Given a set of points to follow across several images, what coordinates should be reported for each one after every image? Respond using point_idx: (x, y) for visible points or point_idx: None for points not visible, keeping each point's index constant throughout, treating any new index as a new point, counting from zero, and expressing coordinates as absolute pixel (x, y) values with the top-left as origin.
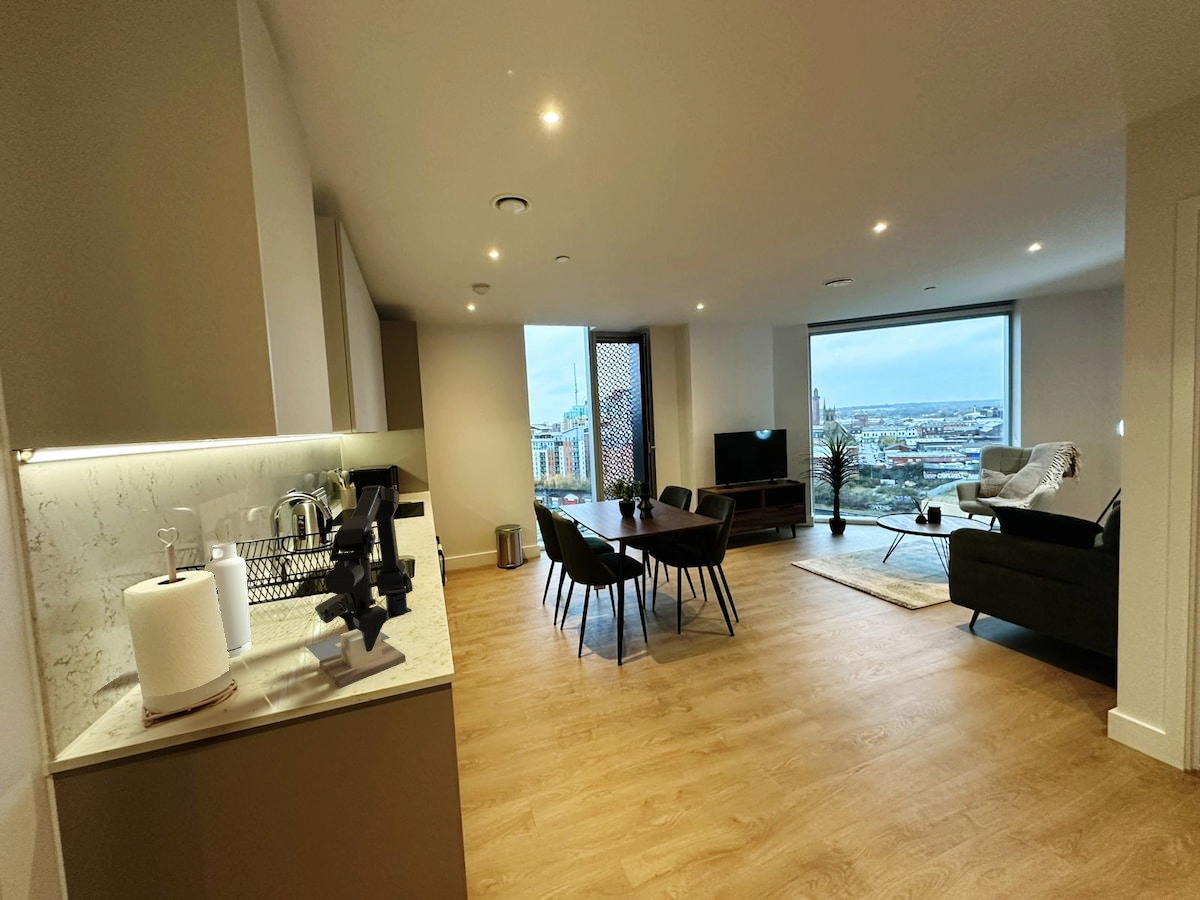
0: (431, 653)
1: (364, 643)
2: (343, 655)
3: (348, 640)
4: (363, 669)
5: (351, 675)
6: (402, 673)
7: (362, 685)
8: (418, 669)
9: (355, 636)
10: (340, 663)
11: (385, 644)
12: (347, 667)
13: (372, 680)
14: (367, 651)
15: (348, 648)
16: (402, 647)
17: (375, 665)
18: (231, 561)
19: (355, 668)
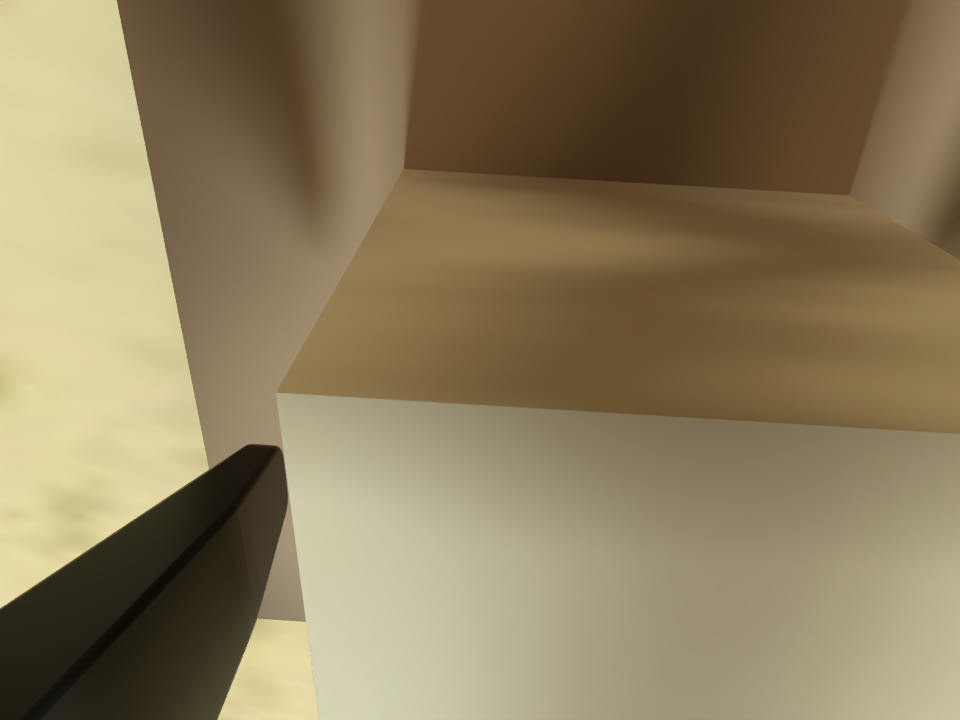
0: (238, 698)
1: (171, 543)
2: (807, 219)
3: (478, 402)
4: (231, 246)
5: (157, 56)
6: (26, 457)
7: (19, 102)
8: (12, 551)
9: (578, 601)
10: (746, 124)
11: None
12: (500, 135)
13: (75, 231)
14: (249, 450)
15: (526, 286)
16: None
17: (226, 376)
18: None
19: (354, 193)
